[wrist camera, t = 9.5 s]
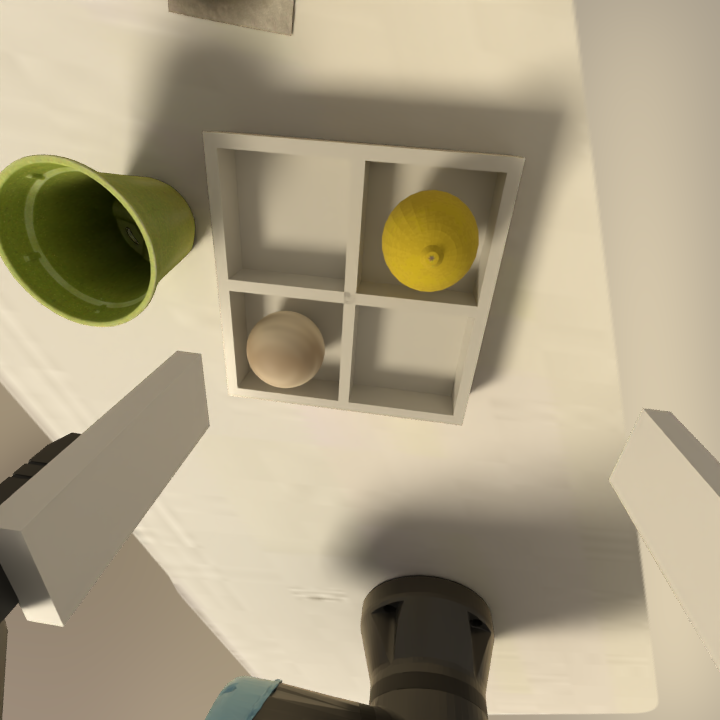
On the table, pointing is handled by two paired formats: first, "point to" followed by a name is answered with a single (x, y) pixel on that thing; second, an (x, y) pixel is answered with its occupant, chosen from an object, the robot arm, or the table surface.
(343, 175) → the tray
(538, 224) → the table surface
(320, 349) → the beige rounded ball
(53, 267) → the plant pot
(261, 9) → the condiment
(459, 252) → the lemon
